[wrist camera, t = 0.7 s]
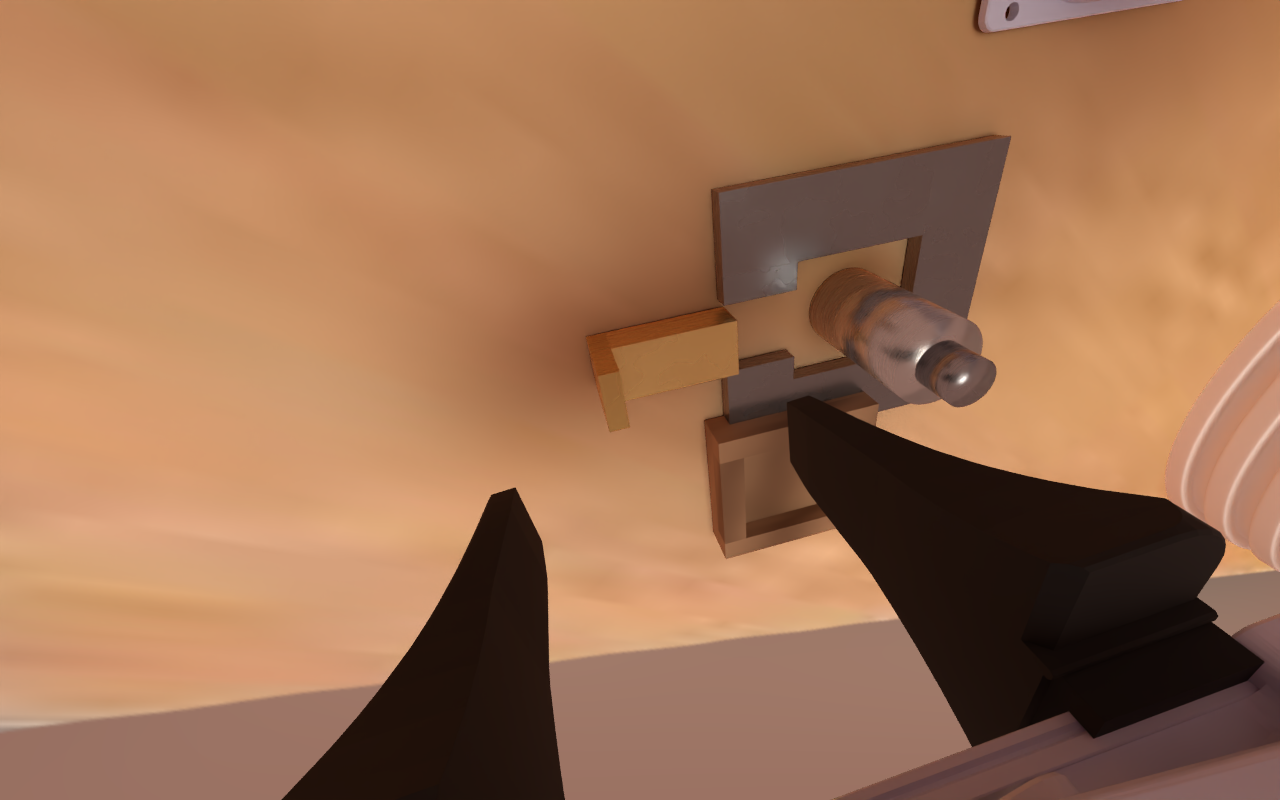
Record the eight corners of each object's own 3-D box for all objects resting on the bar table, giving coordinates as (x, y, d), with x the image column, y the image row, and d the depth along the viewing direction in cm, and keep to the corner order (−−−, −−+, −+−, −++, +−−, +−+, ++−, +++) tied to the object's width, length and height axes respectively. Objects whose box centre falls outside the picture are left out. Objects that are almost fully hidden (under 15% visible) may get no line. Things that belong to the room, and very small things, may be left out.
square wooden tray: (854, 383, 25) (879, 404, 23) (841, 497, 29) (860, 521, 28) (704, 420, 24) (718, 444, 22) (713, 532, 28) (725, 559, 27)
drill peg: (882, 260, 22) (1031, 325, 15) (873, 330, 24) (1003, 413, 17) (810, 276, 21) (934, 349, 15) (807, 345, 23) (915, 436, 17)
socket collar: (994, 135, 20) (1011, 136, 19) (937, 386, 26) (948, 393, 26) (711, 189, 19) (718, 192, 18) (725, 439, 25) (730, 449, 24)
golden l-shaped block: (723, 306, 21) (756, 339, 18) (725, 357, 22) (757, 396, 19) (585, 336, 20) (597, 376, 17) (596, 387, 22) (609, 432, 19)
